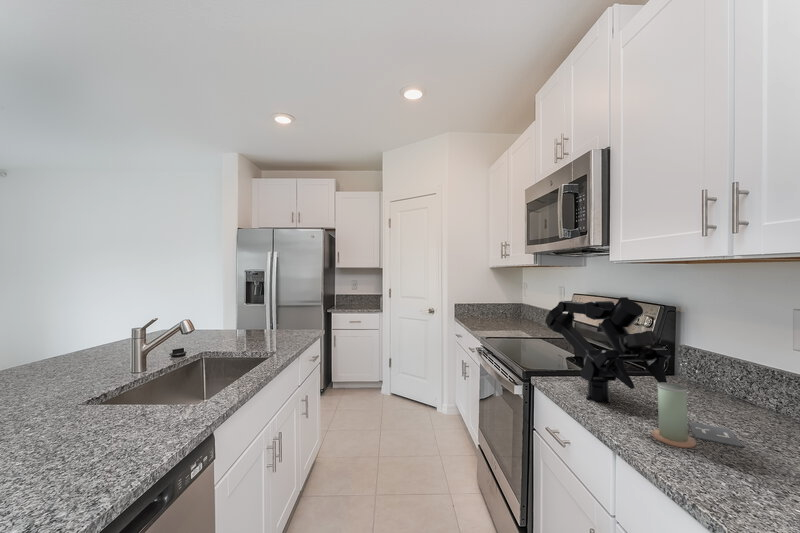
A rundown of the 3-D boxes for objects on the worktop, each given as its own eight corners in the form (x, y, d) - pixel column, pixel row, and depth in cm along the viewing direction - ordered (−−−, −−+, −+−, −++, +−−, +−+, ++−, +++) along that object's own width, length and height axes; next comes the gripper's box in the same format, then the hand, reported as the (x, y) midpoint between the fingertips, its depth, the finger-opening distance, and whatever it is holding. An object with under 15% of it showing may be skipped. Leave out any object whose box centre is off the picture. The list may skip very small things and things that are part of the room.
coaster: (651, 428, 86) (651, 426, 86) (692, 436, 82) (692, 434, 82) (654, 441, 79) (654, 439, 79) (698, 451, 75) (698, 448, 75)
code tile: (688, 422, 89) (688, 421, 89) (729, 430, 85) (729, 428, 85) (695, 438, 81) (695, 436, 81) (741, 447, 77) (741, 445, 77)
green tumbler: (660, 429, 84) (659, 380, 85) (689, 436, 81) (688, 386, 81) (656, 436, 81) (655, 385, 81) (686, 444, 77) (685, 391, 77)
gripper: (601, 320, 92) (632, 373, 81) (664, 319, 94) (704, 371, 83) (583, 343, 100) (609, 394, 89) (642, 341, 101) (675, 391, 90)
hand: (649, 387), depth 87 cm, fingers open, 9 cm apart
